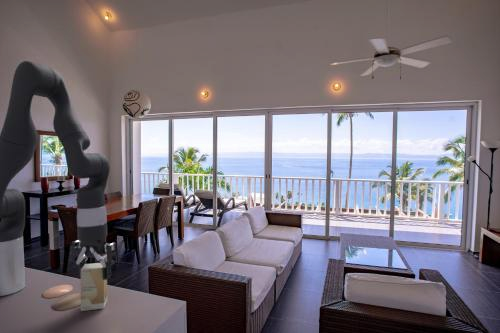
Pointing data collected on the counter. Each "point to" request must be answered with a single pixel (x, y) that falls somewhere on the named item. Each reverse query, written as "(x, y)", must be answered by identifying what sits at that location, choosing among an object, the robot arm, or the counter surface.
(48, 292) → the peach glossy dome
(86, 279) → the skincare box
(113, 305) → the counter surface
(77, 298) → the walnut coaster
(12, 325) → the counter surface
